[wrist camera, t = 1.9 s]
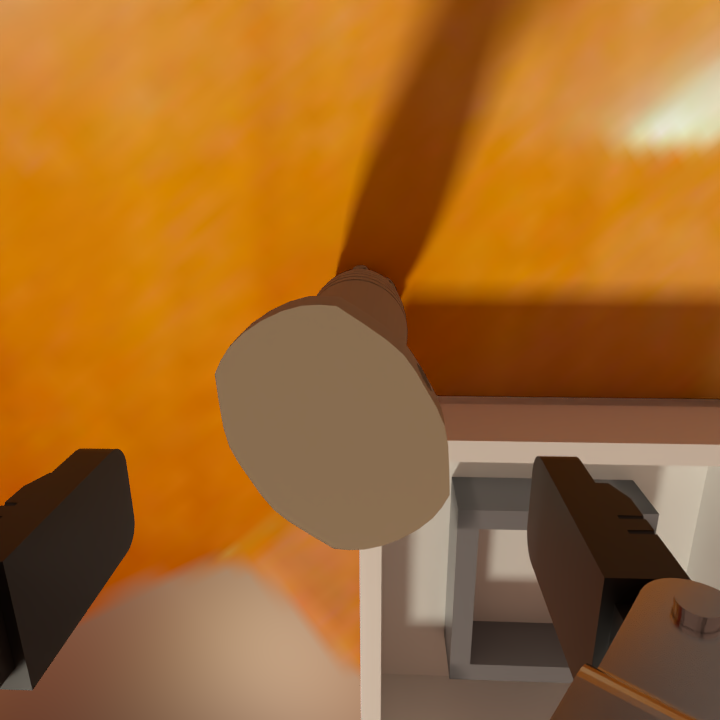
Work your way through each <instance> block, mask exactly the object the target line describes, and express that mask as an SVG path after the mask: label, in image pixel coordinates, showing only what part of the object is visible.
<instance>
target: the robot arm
mask: <svg viewBox="0 0 720 720" xmlns="http://www.w3.org/2000/svg"><path fill="white" fill-rule="evenodd" d="M654 531H655V530H654V529H653V528H652V526H651V525H650V524H649V522H648V521H647V520H646V519H644V516H643V514H642V513H641V512H640V510H639V509H638V508H637V506H636V505H635V504H634V502H633V501H632V499H631V498H630V497H628V496H627V495H625V494H624V493H622V492H621V491H619V490H618V489H616V488H615V487H613V486H612V485H610V484H609V483H595V481H594V480H593V478H592V477H591V475H590V474H589V472H588V471H587V469H586V468H585V466H584V465H583V463H582V462H581V460H580V459H579V458H578V457H567V456H537V457H536V458H535V460H534V464H533V470H532V481H531V492H530V502H529V513H528V524H527V544H528V552H529V557H530V561H531V564H532V567H533V570H534V573H535V575H536V578H537V581H538V584H539V586H540V589H541V592H542V595H543V597H544V600H545V603H546V605H547V608H548V611H549V614H550V616H551V619H552V622H553V625H554V627H555V630H556V633H557V636H558V638H559V641H560V644H561V647H562V649H563V652H564V655H565V658H566V660H567V663H568V666H569V669H570V671H571V674H572V677H573V681H572V683H571V685H570V686H569V688H568V690H567V691H566V693H565V695H564V697H563V698H562V700H561V702H560V703H559V705H558V707H557V708H556V710H555V712H554V714H553V715H552V717H551V719H550V720H720V590H718V589H715V588H713V587H711V586H708V585H705V584H702V583H699V582H696V581H692V580H691V579H690V578H689V576H688V575H687V574H686V572H685V571H684V570H683V568H682V567H681V566H680V564H679V563H678V562H677V560H676V559H675V557H674V556H673V555H672V553H671V552H670V551H669V549H668V548H667V547H666V545H665V544H664V543H663V541H662V540H661V539H660V537H659V536H658V535H657V534H655V532H654ZM133 534H134V513H133V506H132V499H131V492H130V485H129V478H128V472H127V465H126V459H125V456H124V454H123V452H122V451H121V450H119V449H78V450H77V451H75V452H74V453H73V454H72V455H71V456H70V457H69V458H67V459H66V460H65V461H64V462H63V463H62V464H61V465H60V466H58V467H57V468H56V469H55V470H54V471H53V472H52V473H49V474H47V475H45V476H43V477H41V478H39V479H37V480H35V481H33V482H31V483H29V484H27V485H25V486H23V487H22V488H21V489H20V490H19V491H18V492H16V493H15V494H14V495H13V496H12V497H11V498H9V499H8V500H7V501H6V502H5V505H4V506H0V689H9V690H33V689H34V687H35V686H36V684H37V683H38V681H39V680H40V679H41V677H42V676H43V674H44V672H45V671H46V670H47V668H48V667H49V665H50V664H51V662H52V661H53V659H54V658H55V657H56V655H57V654H58V652H59V651H60V649H61V648H62V646H63V645H64V643H65V642H66V640H67V639H68V637H69V636H70V635H71V633H72V632H73V630H74V629H75V628H76V626H77V625H78V623H79V622H80V620H81V619H82V617H83V616H84V614H85V613H86V612H87V610H88V609H89V607H90V606H91V604H92V603H93V601H94V600H95V598H96V597H97V596H98V594H99V593H100V591H101V590H102V588H103V587H104V585H105V584H106V582H107V581H108V579H109V578H110V577H111V575H112V574H113V572H114V571H115V569H116V568H117V566H118V565H119V563H120V562H121V561H122V559H123V558H124V556H125V555H126V553H127V552H128V550H129V548H130V545H131V543H132V539H133Z"/></svg>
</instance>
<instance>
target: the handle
mask: <svg viewBox="0 0 720 720" xmlns="http://www.w3.org/2000/svg"><path fill="white" fill-rule="evenodd" d="M407 331H408V330H407V322H406V315H405V311H404V307H403V304H402V301H401V299H400V297H399V294H398V292H397V290H396V287H395V285H394V284H393V282H392V281H391V280H390V279H389V278H387V277H386V278H385V277H384V276H382V275H380V274H378V273H376V272H374V271H372V270H369V269H368V268H367V266H365V265H359V266H355V267H354V268H353V270H349V271H345V272H343V273H341V274H339V275H337V276H336V277H334V278H333V279H331V280H330V281H329V282H328V283H327V284H326V285H325V286H324V287H323V288H322V289H321V290H320V292H319V293H318V295H317V296H308V297H305V298H301V299H297V300H294V301H290V302H288V303H286V304H284V305H281V306H279V307H277V308H275V309H273V310H271V311H269V312H268V313H266V314H265V315H263V316H262V317H260V318H259V319H258V320H256V321H255V322H253V323H252V324H251V325H250V326H249V327H248V328H247V329H246V330H245V331H244V332H243V333H242V334H241V335H240V336H239V337H238V338H237V339H236V340H235V341H234V342H233V343H232V344H231V345H230V347H229V348H228V350H227V351H226V353H225V355H224V356H223V358H222V359H221V361H220V364H219V366H218V368H217V370H216V373H215V379H216V385H217V392H218V398H219V405H220V410H221V416H222V421H223V427H224V431H225V434H226V437H227V440H228V443H229V446H230V448H231V450H232V452H233V454H234V455H235V457H236V459H237V461H238V462H239V464H240V465H241V467H242V468H243V470H244V471H245V473H246V474H247V475H248V477H249V478H250V480H251V481H252V482H253V484H254V485H255V487H256V488H257V490H258V491H259V492H260V494H261V495H262V496H263V498H264V499H265V500H266V501H267V502H268V503H269V505H270V506H271V507H272V508H273V509H274V510H275V511H276V512H278V513H279V514H280V515H281V516H283V517H284V518H285V519H287V520H288V521H289V522H291V523H292V524H294V525H296V526H297V527H299V528H300V529H302V530H304V531H305V532H307V533H308V534H310V535H312V536H313V537H315V538H317V539H319V540H320V541H322V542H324V543H325V544H327V545H329V546H330V547H332V548H334V549H343V550H365V549H370V548H374V547H379V546H383V545H386V544H389V543H391V542H394V541H397V540H399V539H402V538H404V537H405V536H407V535H409V534H411V533H413V532H415V531H416V530H418V529H420V528H421V527H422V526H423V525H425V524H426V523H427V522H429V521H430V520H431V519H433V517H434V516H435V515H436V514H437V513H438V511H439V510H440V509H441V508H442V507H443V505H444V503H445V502H446V500H447V499H448V497H449V495H450V482H449V453H448V441H447V436H446V430H445V422H444V416H443V412H442V408H441V405H440V403H439V401H438V398H437V396H436V394H435V392H434V390H433V388H432V386H431V384H430V383H429V381H428V379H427V377H426V375H425V373H424V371H423V370H422V368H421V366H420V365H419V363H418V362H417V360H416V358H415V357H414V355H413V354H412V352H411V351H410V349H409V348H408V347H407V345H406V344H407Z"/></svg>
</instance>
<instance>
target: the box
mask: <svg viewBox="0 0 720 720" xmlns="http://www.w3.org/2000/svg"><path fill="white" fill-rule="evenodd" d="M437 398H438V401H439V403H440V405H441V408H442V412H443V416H444V422H445V430H446V436H447V441H448V453H449V482H450V495H449V497H448V499H447V500H446V502H445V503H444V505H443V507H442V508H441V509H440V510H439V511H438V513H437V514H436V515H435V516H434V517H433V519H431V520H430V521H429V522H427V523H426V524H425V525H423V526H422V527H421V528H420V529H418V530H416V531H415V532H413V533H411V534H409V535H407V536H405V537H404V538H402V539H399V540H397V541H394V542H391V543H389V544H386V545H383V546H379V547H374V548H370V549H365V550H360V664H361V720H550V719H551V717H552V715H553V714H554V712H555V710H556V708H557V707H558V705H559V703H560V702H561V700H562V698H563V697H564V695H565V693H566V691H567V690H568V688H569V686H570V685H571V683H572V681H573V677H572V674H571V671H570V669H569V666H568V663H567V660H566V658H565V655H564V652H563V649H562V647H561V644H560V641H559V638H558V636H557V633H556V630H555V627H554V625H553V622H552V619H551V616H550V614H549V611H548V608H547V605H546V603H545V600H544V597H543V595H542V592H541V589H540V586H539V584H538V581H537V578H536V575H535V573H534V570H533V567H532V564H531V561H530V557H529V552H528V544H527V524H528V513H529V502H530V492H531V481H532V470H533V464H534V460H535V458H536V457H537V456H567V457H578V458H579V459H580V460H581V462H582V463H583V465H584V466H585V468H586V469H587V471H588V472H589V474H590V475H591V477H592V478H593V480H594V481H595V483H609V484H610V485H612V486H613V487H615V488H616V489H618V490H619V491H621V492H622V493H624V494H625V495H627V496H628V497H630V498H631V499H632V501H633V502H634V504H635V505H636V506H637V508H638V509H639V510H640V512H641V513H642V514H643V516H644V519H646V520H647V521H648V522H649V524H650V525H651V526H652V528H653V529H654V530H655V531H654V532H655V534H657V535H658V536H659V537H660V539H661V540H662V541H663V543H664V544H665V545H666V547H667V548H668V549H669V551H670V552H671V553H672V555H673V556H674V557H675V559H676V560H677V562H678V563H679V564H680V566H681V567H682V568H683V570H684V571H685V572H686V574H687V575H688V576H689V578H690V579H691V580H692V581H696V582H699V583H702V584H705V585H708V586H711V587H713V588H715V589H718V590H720V399H656V398H569V397H483V396H437Z"/></svg>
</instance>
